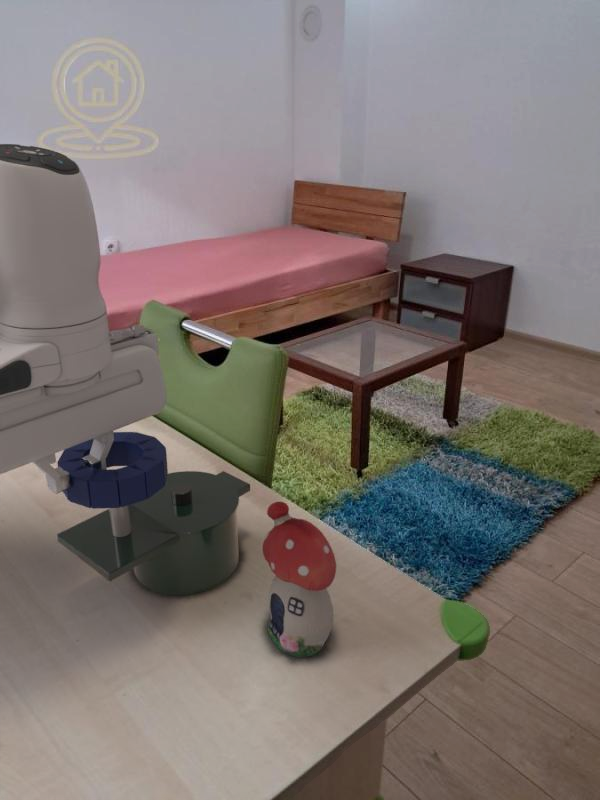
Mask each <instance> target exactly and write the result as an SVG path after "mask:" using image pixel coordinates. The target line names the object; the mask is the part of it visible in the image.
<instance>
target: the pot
mask: <svg viewBox="0 0 600 800" xmlns="http://www.w3.org/2000/svg"><path fill="white" fill-rule="evenodd" d="M250 491H251V484H250V483H248V482H246V481H244V480H242V479H240V478H239V477H236V476H235V475H233V474H230V473H229V472H226V471H224V470H223V471H220V472H219V473H217V474H215V473H212V472H211V473H210V472H205V471H193V470H191V471H190V470H186V471H183V470H182V471H175V472H168V474H167V478H166V483H165V486H164V487H163V488H162V489H160V490H159V491H158V492H157V493H155V494H154V495H153V496H151V497H150V498H149V499H146V500H144V501H140V502H137V503H134V504H131V505H128V506H124V507H121V506H120V508H107V509H106V510H103V511H101V512H100V513H98V514H96V515H93V516H91V517H89V518H87V519H85V520H83V521H81V522H79V523H77V524H75V525H73V526H71V527H69V528H67V529H65V530H63V531H61V532H58V533H57V534H56V537H57V542H58V543H59V544H60V545H62V546H63V547H65V549H67V550H68V551H69V552H71V553H72V554H74V555H75V556H76V557H77V558H79V559H80V560H81V561H82V562H83V563H85V564H86V565H88V566H89V567H90V568H91V569H93V570H94V571H96V572H97V573H98V574H99V575H101V576H102V577H103V578H104V579H106V580H107V581H109V582H113V580H116V579H117V578H119V577H121V576H122V575H124V574H126V573H128V572H129V571H131V570H133V572H134V575H135V577H136V579H137V580H138V582H139V583H140V584H141V585H142V586H144V587H146V588H147V589H149V590H151V591H152V592H155V593H159V594H163V595H167V596H168V595H169V596H188V595H189V596H190V595H194V594H199V593H203V592H206V591H209V590H212V589H213V588H216V587H217V586H219V585H220V584H222V583H224V582H226V580H227V579H228V578H230V577H231V576H232V574H233V573H234V572H235V570H236V569H237V567H238V564H239V559H240V558H239V557H240V556H239V554H240V553H239V529H238V528H239V527H238V507H239V504H240V497H241V496H243V495H246V494H248V493H249V492H250Z"/></svg>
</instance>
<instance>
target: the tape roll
mask: <svg viewBox="0 0 600 800" xmlns="http://www.w3.org/2000/svg"><path fill="white" fill-rule="evenodd" d="M113 434H114V441H113V443H112V446H111V448H110V450H109V453H108V455H107V458H105V459H106V467H107V470H98V469H95V468H91V467H88V466H86V465H85V464H84V462H83V459H82V458H83V457H85V456H87V455H89V454H90V451H91V447H92V444H93V441H94V438H93V439H91V440H88V441H86V442H83V443H80V444H78V445H75V446H73V447H70V448H67V449H65V450H62V453H61V455H60V457H59V458H58V460H57V461H56V465H57V468H58V467H61V468H62V469H63V471H67V472H68V473H69V474H70V481H69V482H70V483H71V488H69V489H67V490H65V491H63V492H62V493H63V494H64V496H65V497H66V499H67V501H69V502H70V503H73V504H76V505H79V506H82V507H85V508H89V509H92V510H93V509H109V508H120V506H121V507H124V506H128V505H131V504H134V503H137V502H140V501H144V500H146V499H149V498H150V497H151V496H153V495H154V494H155V493H157V492H158V491H159V490H160V489H162V488H163V487H164V486H165V483H166V478H167V474H169V469H168V459H167V458H168V457H167V455H168V454H167V448H166V446H165V444H163V443H162V442H161V441H160V440H159V439H158V438H157V437H155V436H153V435H148V434H145V433H141V432H137V431H113ZM113 467H120V468H115V469H109V468H113Z"/></svg>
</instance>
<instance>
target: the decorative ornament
mask: <svg viewBox="0 0 600 800" xmlns="http://www.w3.org/2000/svg"><path fill="white" fill-rule="evenodd" d="M289 511H290V507H289V505H288V504H287V503H286V502H284V501H275V502H272V503H271V504H270V505H269V506H268V508H267V510H266V514H267V516H268V517H269V518H270V519H271V520H272V521H273V523H274V526H273V527H272V529H270V530H269V532H267V534H266V535H265V537H264V540H263V544H262V555H263V557H264V559H265V561H266V562H267V564H268V566H269V568H270V570H271V571H272V574H274V577H273V578H272V581H271V583H270V586H269V590H268V597H267V599H268V600H267V602H268V609H269V613H270V620H269V621H268V623H267V631H268V634H269V637H270V639H271V640H272V641H273V643H274V645H275V646H276V647H277V648H278V649H279V650H280V651H281V652H282V653H284V654H287V655H289V656H291V657H295V658H297V659H300V658H306V657H311V656H312V657H313V656H315V655H318V653H319V652H320V651H321V650H322V649H323V647H324V645H325V642H326V641H327V640H328V638H329V635H330V634H331V631H332V629H333V623H334V607H333V602H332V599H331V596H330V593H329V590H328V588H329V587H330V586H331V585H332V584H333V582H334V580H335V577H336V572H337V562H336V557H335V554H334V551H333V549H332V546H331V544H330V543H329V540H328V539H327V538H326V536H325V535H324V534H323V532H322V531H321V530H320V529H319V528H318V527H317V526H316V525H314V524H313V523H312V522H311V521H309V520H307V519H303V518H297V517H293V516H291V515H290V514H289Z"/></svg>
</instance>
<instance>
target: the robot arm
mask: <svg viewBox="0 0 600 800" xmlns="http://www.w3.org/2000/svg"><path fill="white" fill-rule="evenodd" d="M85 177H86V176H85V175H84V173H83V171H82V169H81V168H80V166H79V165H78V164H77V162H76V161H74V160H72V159H71V158H70V157H68V156H67V155H65V154H63V153H60V152H58V151H55V150H52V149H48V148H44V147H38V146H34V145H21V144H18V143H17V144H16V143H15V144H14V143H0V475H3V474H5V473H8V472H10V471H13V470H16V469H18V468H21V467H24V466H26V465H29V464H31V463H33V464H34V465H35V466H36V467H37V468H38V469H39V470H40V471H41V472H42V473H44V474H45V479H46V484H47V485H46V486H47V487H48V490H49V491H51V492H52V493H54V494H55V495H57V494H60V493H64V492H63V491H65V490H67V489H69V488H71V483H70V482H69V481H70V474H69V473H68V472H67V471H63V469H62V468H61V467H58V466H57V467H55V468H54V467H53V466H52V465H53V464H55V463H57V460H56V459H57V457H56V454H57V453H60V452H63V451H64V450H65V449H67V448H70V447H73V446H75V445H78V444H80V443H83V442H86V441H88V440H91V439H93V438H94V441H93V444H92V447H91V451H90V454H89V455H87V456H85V457H83V458H82V459H83V462H84V464H85V465H86V466H88V467H91V468H95V469H98V470H108V468H107V467H106V459H105V458H107V455H108V453H109V450H110V448H111V446H112V443H113V441H114V434H113V432H115V431H116V430H119V429H122V428H124V427H126V426H130V425H132V424H134V423H137V422H140V421H143V420H145V419H147V418H150V417H153V416H155V415H157V414H160V413H162V412H163V410H164V408H165V406H166V404H167V402H168V395H167V388H166V382H165V377H164V372H163V369H162V364H161V361H160V357H159V354H160V353H159V339H158V335H157V334H156V333H155V332H154V331H153V330H152V329H151V328H149V327H146V326H144V325H143V324H134V325H131V326H129V327H126V328H122V329H116V330H112V331H110V330H109V328H110V327H109V320H108V310H107V305H106V301H105V299H104V297H103V294H102V291H101V288H100V282H99V281H100V280H99V275H100V269H101V264H102V256H101V248H100V240H99V232H98V226H97V218H96V215H95V209H94V205H93V200H92V195H91V192H90V189H89V186H88V183H87V180H86V178H85Z"/></svg>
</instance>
